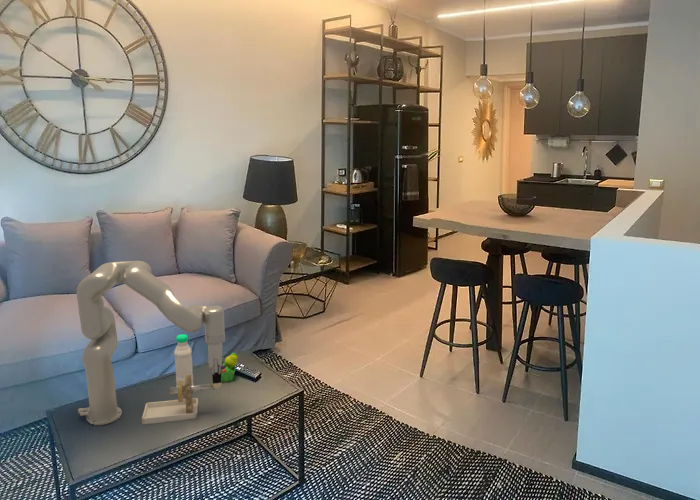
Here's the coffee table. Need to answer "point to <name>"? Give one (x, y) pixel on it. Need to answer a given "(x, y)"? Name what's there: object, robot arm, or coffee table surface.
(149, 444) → the coffee table surface
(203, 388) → the steel shaft
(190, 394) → the shaft post
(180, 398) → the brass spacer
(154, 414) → the tray
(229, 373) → the fruit basket
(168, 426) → the coffee table surface
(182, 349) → the water bottle
